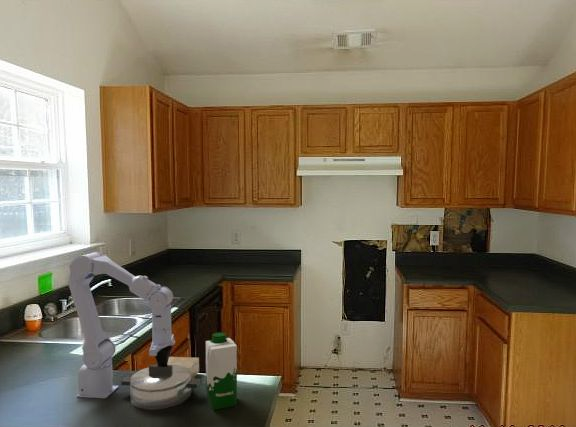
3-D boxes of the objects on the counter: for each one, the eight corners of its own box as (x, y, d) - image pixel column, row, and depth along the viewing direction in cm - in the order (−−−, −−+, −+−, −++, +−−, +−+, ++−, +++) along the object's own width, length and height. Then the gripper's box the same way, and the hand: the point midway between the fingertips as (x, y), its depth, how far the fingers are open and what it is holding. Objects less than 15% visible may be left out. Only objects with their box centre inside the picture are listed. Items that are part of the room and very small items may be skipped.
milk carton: (231, 393, 133) (231, 330, 132) (240, 406, 124) (239, 338, 124) (203, 399, 129) (202, 334, 129) (210, 412, 121) (209, 343, 120)
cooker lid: (119, 390, 124) (119, 376, 124) (146, 366, 141) (145, 354, 141) (177, 392, 122) (177, 379, 122) (197, 368, 140) (197, 356, 139)
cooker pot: (109, 407, 124) (109, 390, 124) (150, 369, 152) (149, 356, 152) (189, 411, 122) (188, 394, 122) (215, 372, 149) (215, 358, 149)
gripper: (165, 335, 125) (165, 380, 125) (182, 320, 139) (183, 361, 140) (142, 334, 126) (143, 379, 126) (161, 320, 140) (162, 361, 141)
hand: (162, 370), depth 133 cm, fingers closed
